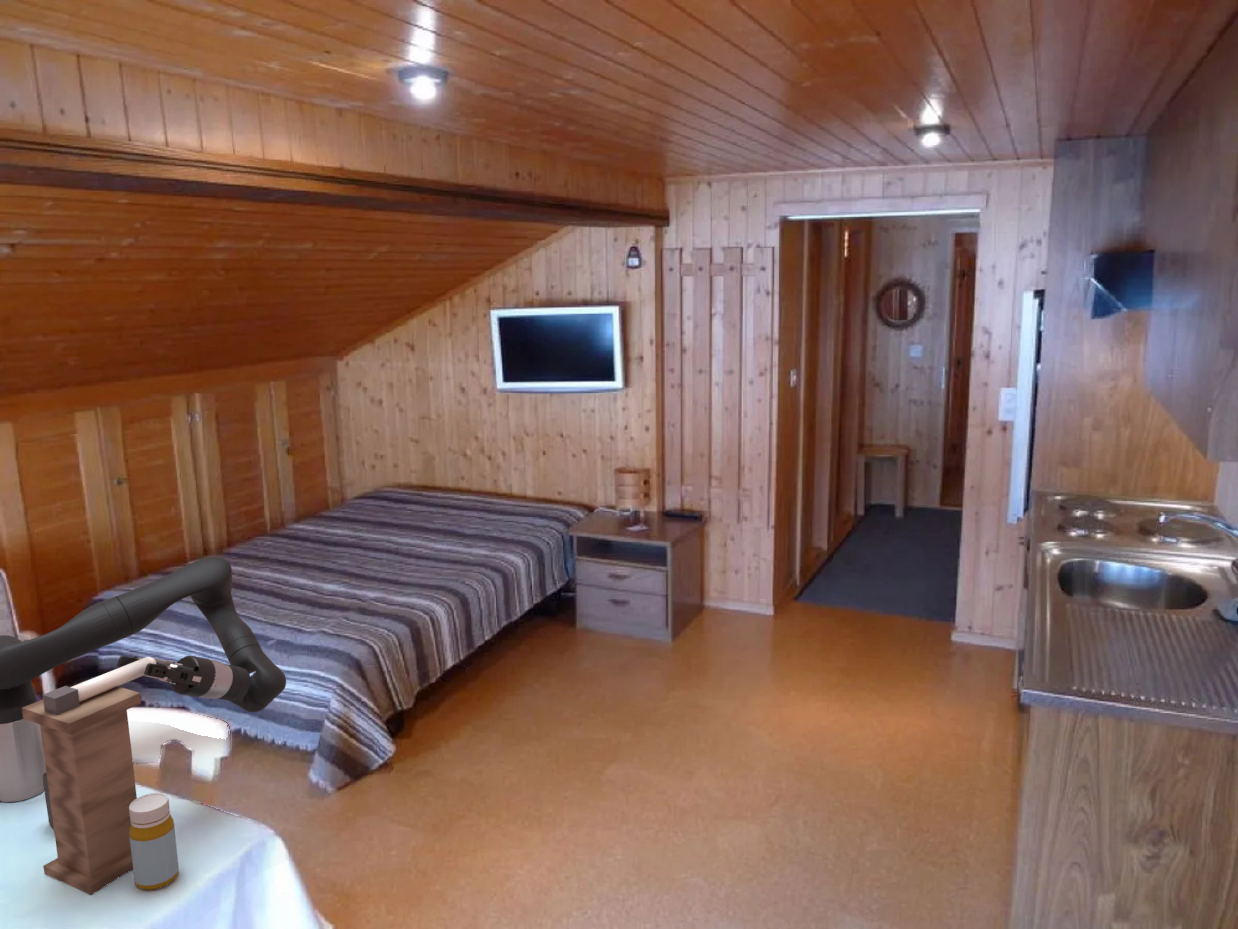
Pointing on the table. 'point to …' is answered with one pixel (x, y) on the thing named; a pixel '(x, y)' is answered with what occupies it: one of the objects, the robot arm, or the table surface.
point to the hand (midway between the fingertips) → (133, 665)
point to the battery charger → (47, 799)
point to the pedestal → (89, 787)
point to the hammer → (93, 687)
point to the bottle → (153, 842)
